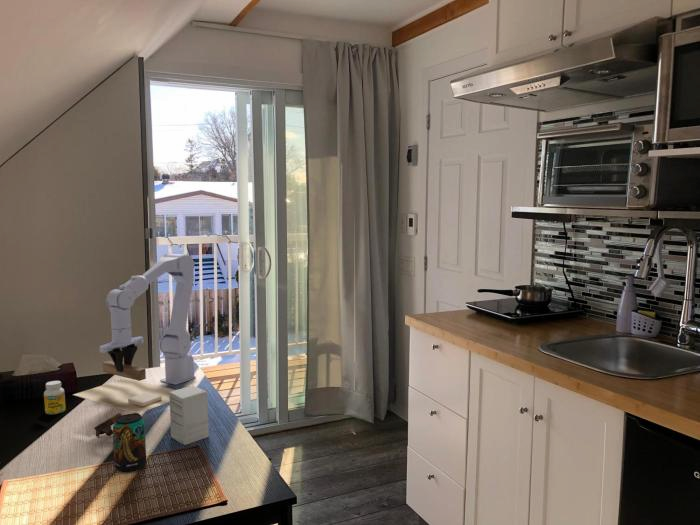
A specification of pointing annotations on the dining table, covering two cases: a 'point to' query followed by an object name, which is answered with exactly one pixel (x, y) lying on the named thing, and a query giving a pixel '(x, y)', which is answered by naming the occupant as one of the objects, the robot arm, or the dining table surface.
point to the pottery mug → (107, 426)
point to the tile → (144, 399)
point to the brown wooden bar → (125, 371)
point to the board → (126, 394)
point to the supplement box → (189, 414)
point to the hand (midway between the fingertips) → (123, 370)
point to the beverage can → (129, 443)
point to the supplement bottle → (54, 398)
